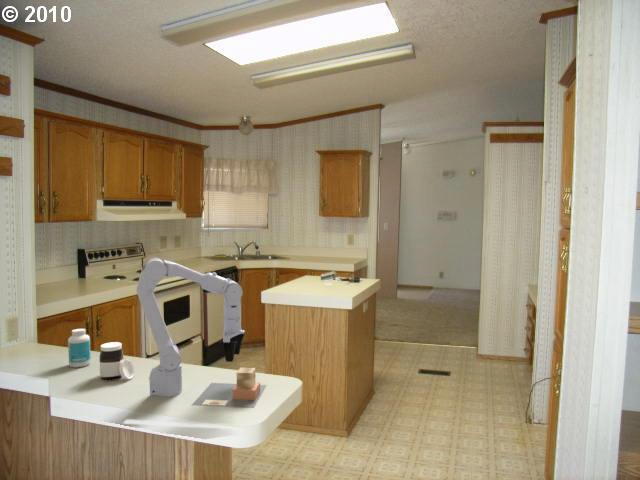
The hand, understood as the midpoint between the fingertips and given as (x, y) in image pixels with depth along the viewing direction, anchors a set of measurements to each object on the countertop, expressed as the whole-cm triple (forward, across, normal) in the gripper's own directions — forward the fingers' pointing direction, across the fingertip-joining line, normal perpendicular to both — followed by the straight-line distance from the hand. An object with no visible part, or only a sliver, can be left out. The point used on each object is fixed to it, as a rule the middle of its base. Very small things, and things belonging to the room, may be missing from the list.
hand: (232, 357), depth 161 cm
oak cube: (+6, -9, -7) cm, 13 cm away
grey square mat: (+10, -9, -2) cm, 14 cm away
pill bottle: (+10, +15, +64) cm, 67 cm away
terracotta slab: (+9, -9, -7) cm, 14 cm away
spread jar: (+10, +4, +43) cm, 44 cm away
